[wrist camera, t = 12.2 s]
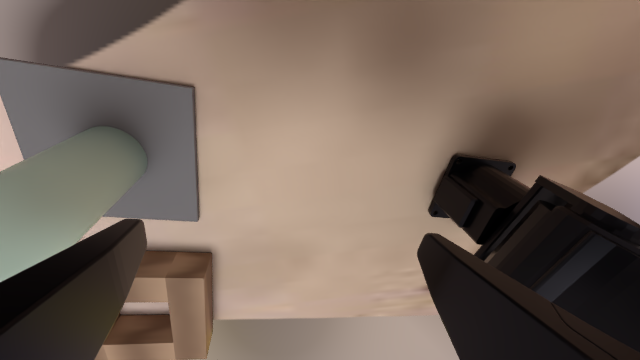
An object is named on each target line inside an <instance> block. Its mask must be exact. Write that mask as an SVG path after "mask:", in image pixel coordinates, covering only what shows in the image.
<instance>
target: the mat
mask: <svg viewBox="0 0 640 360" xmlns="http://www.w3.org/2000/svg"><path fill="white" fill-rule="evenodd" d="M0 95H1V98H2V101H3V104H4V106H5V109H6V112H7V115H8V117H9V120H10V123H11V125H12V128H13V131H14V134H15V136H16V139H17V142H18V145H19V147H20V150H21V153H22V155H23V158H24V160H25V159H28V158H30V157H32V156H34V155H36V154H38V153H40V152H42V151H44V150H46V149H48V148H50V147H52V146H54V145H56V144H58V143H61V142H63V141H65V140H67V139H69V138H71V137H73V136H75V135H77V134H79V133H81V132H83V131H85V130H87V129H90V128H92V127H97V126H107V127H113V128H117V129H119V130H122V131H124V132H126V133H128V134H129V135H131V136H132V137H133V138H135V139H136V140H137V141H138V142H139V143H140V145H141V146H142V147H143V149H144V151H145V153H146V156H147V161H148V163H147V169H146V171H145V173H144V174H143V175H142V176H141V177H140V178H139V179H138V180H137V181H136V182H135V183H134V184H133V186H132V187H131V188H130V189H129V190H128V191H127V192H126V193H125V194H124V195H123V196H122V197H121V198H120V199H119V200H118V201H117V202H116V203H115V204H114V205H113V206H112V207H111V208H110V209H109V210H108V211H107V212H106V213H105V214H104V215H103V216H102V217H120V218H139V219H157V220H175V221H193V222H198V220H199V201H198V175H197V149H196V123H195V97H194V87H189V86H183V85H176V84H170V83H163V82H157V81H150V80H144V79H137V78H131V77H124V76H118V75H111V74H105V73H98V72H92V71H85V70H79V69H72V68H66V67H59V66H53V65H46V64H39V63H33V62H27V61H20V60H14V59H7V58H1V57H0Z"/></svg>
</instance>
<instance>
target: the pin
mask: <svg viewBox="0 0 640 360" xmlns="http://www.w3.org/2000/svg"><path fill="white" fill-rule="evenodd" d="M147 163H148V161H147V156H146V153H145V151H144V149H143V147H142V146H141V145H140V143H139V142H138V141H137V140H136V139H135V138H133V137H132V136H131V135H129V134H128V133H126V132H124V131H122V130H119V129H117V128H113V127H107V126H97V127H92V128H90V129H87V130H85V131H83V132H81V133H79V134H77V135H75V136H73V137H71V138H69V139H67V140H65V141H63V142H61V143H58V144H56V145H54V146H52V147H50V148H48V149H46V150H44V151H42V152H40V153H38V154H36V155H34V156H32V157H30V158H28V159H25V160H23V161H21V162H19V163H17V164H15V165H13V166H11V167H9V168H7V169H5V170H3V171H1V172H0V282H2V281H4V280H6V279H7V278H9V277H11V276H13V275H15V274H17V273H19V272H21V271H23V270H25V269H27V268H29V267H31V266H33V265H35V264H37V263H39V262H41V261H43V260H45V259H47V258H49V257H51V256H53V255H55V254H57V253H59V252H61V251H63V250H65V249H67V248H69V247H70V246H72V245H74V244H76V243H77V242H78V241H79V240H80V239H81V238H82V236H83V235H84V234H85V233H86V232H87V231H88V230H89V229H90V228H91V227H92V226H93V225H94V224H95V223H96V222H97V221H98V220H99V219H100V218H101V217H102V216H103V215H104V214H105V213H106V212H107V211H108V210H109V209H110V208H111V207H112V206H113V205H114V204H115V203H116V202H117V201H118V200H119V199H120V198H121V197H122V196H123V195H124V194H125V193H126V192H127V191H128V190H129V189H130V188H131V187H132V186H133V184H134V183H135V182H136V181H137V180H138V179H139V178H140V177H141V176H142V175H143V174H144V173H145V171H146V169H147Z"/></svg>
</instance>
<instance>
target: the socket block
mask: <svg viewBox="0 0 640 360" xmlns="http://www.w3.org/2000/svg"><path fill="white" fill-rule="evenodd" d="M125 302H168V305H169V313H170V315H120V313H119V314H118V316H117V318H116V320H115V322H114V324H113V326H112V328H111V330H110V331H109V333H108V335H107V337H106V339H105V341H104V343H103V345H102V346H101V348H100V350H99V352H98V354H97V356H96V358H95V360H188V359H206V358H207V354H208V350H209V345H210V341H211V336H212V332H213V311H212V253H196V252H165V251H145V253H144V256H143V258H142V261H141V263H140V266H139V269H138V271H137V274H136V276H135V279H134V281H133V284H132V286H131V289H130V291H129V294H128V296H127V298H126V301H125Z"/></svg>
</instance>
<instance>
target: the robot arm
mask: <svg viewBox="0 0 640 360" xmlns="http://www.w3.org/2000/svg"><path fill="white" fill-rule="evenodd" d="M458 159H459V161H458V162H457V160H458ZM509 166H510V167H509ZM515 168H516V164H515V163H513V162H511V161H504V160H497V159H489V158H481V157H473V156H466V155H455V156H454V157H453V158H452V159H451V162H450V164H449V166H448V168H447V171H446V173H445V175H444V177H443V180H442V182H441V184H440V186H439V189H438V191H437V193H436V195H435V198H434V200H433V202H432V204H431V207H430V209H429V214H430V215H431V216H432V217H441V218H451V219H452V220H453V221H454V222H455V223H456V225H457V226H458V227H460V228H462V229H463V230H464V231H465V232H466V233H467V234H468V235H469V236H470V237H471V238H472V239H473V240H474V242H475V243H476V244H479V245H482V246H481V247H480V248H479V249H478V251H477V252H476V253H475V254H474V255H473V254H471V253H469V252H468V251H466V250H464V249H463V248H461V247H459V246H458V245H456V244H454V243H453V242H451V241H449V240H448V239H446V238H444V237H443V236H441V235H439V234H436V233H427V234H425V236H424V237H423V240H422V242H421V244H420V246H419V248H418V251H417V256H418V260H419V263H420V266H421V268H422V271H423V274H424V277H425V280H426V283H427V286H428V289H429V292H430V294H431V297H432V299H433V302H434V304H435V306H436V308H437V311H438V313H439V315H440V317H441V320H442V322H443V324H444V326H445V328H446V331H447V333H448V335H449V337H450V339H451V342H452V344H453V346H454V348H455V350H456V353H457V355H458V357H459V359H460V360H640V225H639V224H638V223H636V222H634V221H632V220H631V219H630V218H628V217H626V216H625V215H623V214H621V213H620V212H618V211H616V210H614V209H613V208H611V207H609V206H607V205H605V204H603V203H600V202H598V201H596V200H594V199H592V198H590V197H588V196H586V195H584V194H582V193H580V192H578V191H576V190H574V189H571V188H569V187H567V186H564V185H562V184H560V183H557V182H555V181H553V180H550V179H548V178H546V177H543V176H541V175H540V176H539V177H538V178H537V179H536V181H535V182H536V183H535V184H534V185H533V186H532V187H531V188H529V187H527V186H526V185H524V184H522V183H521V182H519V181H517V180H516V179H514V178H512V177H511V175H512V173H513V171H514V170H515ZM434 211H435V212H434ZM146 247H147V239H146V233H145V227H144V223H143V221H142V220H140V219H124V220H122V221H120V222H118V223H116V224H114V225H112V226H110V227H108V228H106V229H104V230H102V231H100V232H98V233H96V234H94V235H92V236H90V237H88V238H86V239H84V240H82V241H80V242H78V243H76V244H74V245H72V246H70V247H69V248H67V249H65V250H63V251H61V252H59V253H57V254H55V255H53V256H51V257H49V258H47V259H45V260H43V261H41V262H39V263H37V264H35V265H33V266H31V267H29V268H27V269H25V270H23V271H21V272H19V273H17V274H15V275H13V276H11V277H9V278H7V279H6V280H4V281H2V282H0V360H95V358H96V356H97V354H98V352H99V350H100V348H101V346H102V345H103V343H104V341H105V339H106V337H107V335H108V333H109V331H110V330H111V328H112V326H113V324H114V322H115V320H116V318H117V316H118V314H119V313H120V311H121V309H122V307H123V305H124V303H125V301H126V298H127V296H128V294H129V291H130V289H131V286H132V284H133V281H134V279H135V276H136V274H137V271H138V269H139V266H140V263H141V261H142V258H143V256H144V253H145V251H146Z"/></svg>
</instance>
